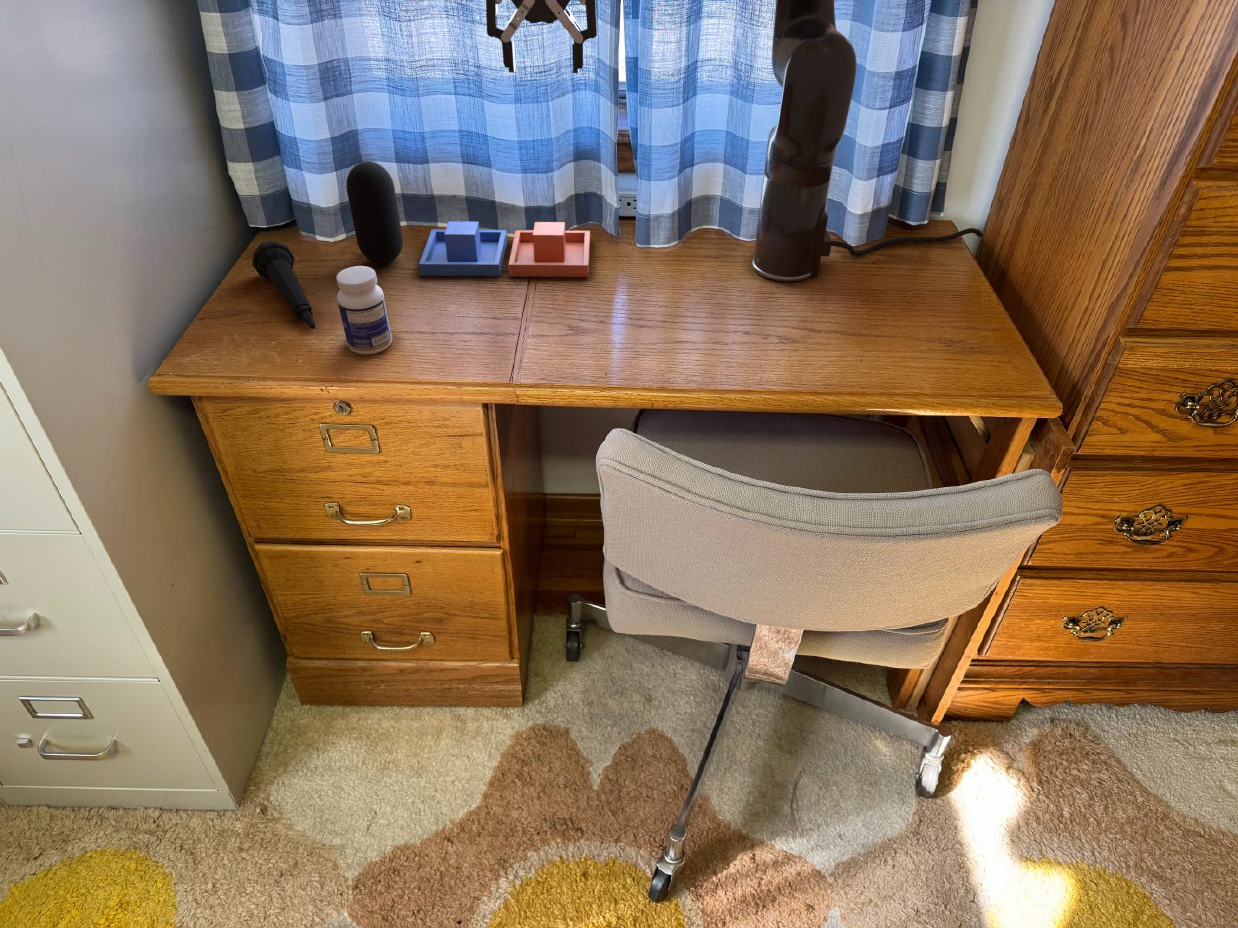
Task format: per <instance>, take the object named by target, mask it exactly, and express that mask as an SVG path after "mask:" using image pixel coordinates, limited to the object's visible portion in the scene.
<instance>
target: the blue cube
mask: <svg viewBox="0 0 1238 928" xmlns="http://www.w3.org/2000/svg"><path fill="white" fill-rule="evenodd" d="M445 230H446V231H445V233H444V238H445V245H446V253H447V261H448V262H478V259H479V255H480V252H481V242H480V232H479V230H480V224H479V221H461V220H460V221H459V220H458V221H457V220H455V221H453V220H452V221H448V222H447V225H446V228H445Z"/></svg>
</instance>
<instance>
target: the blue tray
mask: <svg viewBox="0 0 1238 928" xmlns="http://www.w3.org/2000/svg"><path fill="white" fill-rule="evenodd" d="M445 231H446V229H431V231H430V234H429V236H428V239H427V241H426V244H425V246H424V250H423V251H422V253H421V257H420V260H419V262H418V267H419V268H418V269H419V274H420V276H422V277H500V276H501V273H502V269H503V263H504V258H505V253H506V250H507V245H508V235H507V234H508V232H507V230H506V229H479V232H480V242H481V252H480V255H479V259H478V262H448V261H447V253H446V245H445V238H444V233H445Z"/></svg>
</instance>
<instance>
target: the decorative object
mask: <svg viewBox="0 0 1238 928" xmlns="http://www.w3.org/2000/svg"><path fill="white" fill-rule="evenodd" d="M345 184H346V185H345V187H346V194H347V198H348V203H349V209H350V213H351V218H352V224H353V228H354V229H353V230H354V233H355V234H354V235H355V238H356V243H357V246H358V249H359V251H360V253H361V254H362V255H363V256H364V257H365V258H366V259H367V260H368V261H370V262H372V263H374V264H378V265H386V264H389V263H392V262H393V261H395V260H396V259H397V258H398V257H399V256H400V254H401V252H402V250H403V245H404V237H403V229H402V224H401V218H400V213H399V212H400V210H399V207H398V200H397V193H396V187H395V183H394V179H393V178H392V176H391V175H390V172H389V171H388V170H387V169H386V168H385V167H383V166H382V165H381V164H380V163H377V162H374V161H362V162H358V163H357V164H355V165H354V166H353V167H352V168H351V169H350V171H349V173H348V175H347V178H346V183H345Z"/></svg>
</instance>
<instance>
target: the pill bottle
mask: <svg viewBox="0 0 1238 928" xmlns="http://www.w3.org/2000/svg"><path fill="white" fill-rule="evenodd" d="M336 283H337V287H338V289H339V291H338V292H337V296H336V300H337V301H336V302H337V306H338V309H339V314H340V318H341V323H342V327H343V331H344V336H345V339H346V344H347V347H348V348H349V350H351V351H352V352H354V353H355V354H359V355H373V354H379V353H380V352H381V353H382V352H383V351H385V350H387V349H388V348H389V347H390V346H391V345H392V342H393V333H392V329H391V323H390V319H389V313H388V309H387V303H386V297H385V294H384V291H383V289H382V287H380V286H379V285H378V277H377V273H376V270H375V269H374V268H372V267H370V266H365V265H354V266H350V267H347V268H344V269H341V270H340V271H339V272H337V274H336Z"/></svg>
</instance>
